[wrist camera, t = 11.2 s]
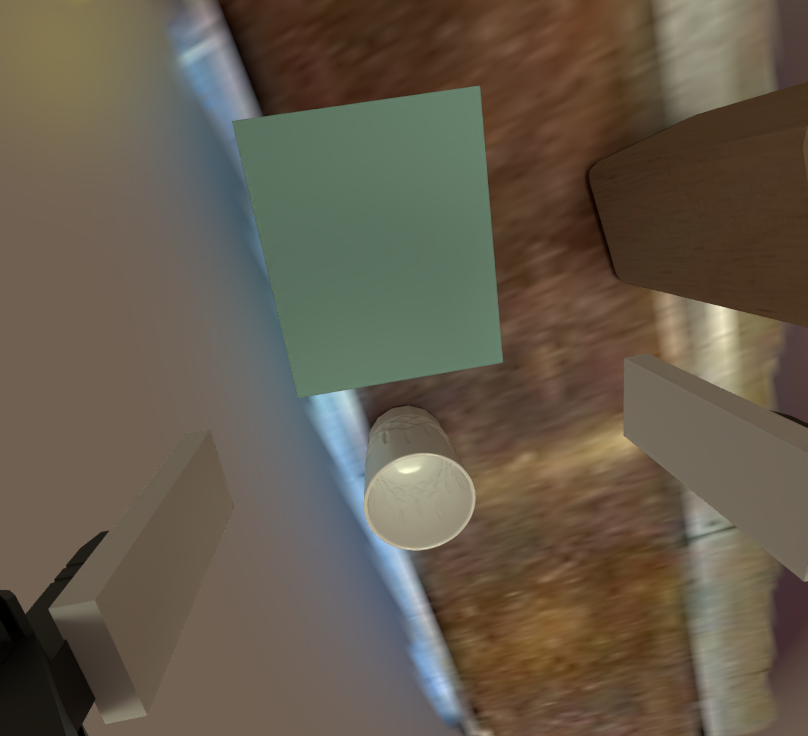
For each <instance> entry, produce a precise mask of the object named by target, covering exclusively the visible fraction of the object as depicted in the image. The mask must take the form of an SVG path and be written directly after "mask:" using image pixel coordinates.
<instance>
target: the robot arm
mask: <svg viewBox="0 0 808 736" xmlns="http://www.w3.org/2000/svg"><path fill="white" fill-rule="evenodd" d="M624 436H625V437H626V438H628V439H629V440H630V441H631V442H632V443H634V444H635V445H636V446H637V447H639V448H640V449H641V450H642V451H644V452H645V453H646V454H647V455H649V456H650V457H651V458H652V459H653V460H655V461H656V462H657V463H658V464H660V465H661V466H662V467H663V468H665V469H666V470H667V471H668V472H670V473H671V474H672V475H673V476H674V477H676V478H677V479H678V480H679V481H681V482H682V483H683V484H684V485H686V486H687V487H688V488H689V489H690V490H692V491H693V492H694V493H695V494H697V495H698V496H699V497H700V498H702V499H703V500H704V501H705V502H707V503H708V504H709V505H710V506H711V507H713V508H714V509H715V510H716V511H718V512H719V513H720V514H721V515H723V516H724V517H725V518H726V519H728V520H729V521H730V522H731V523H732V524H734V525H735V526H736V527H737V528H739V529H740V530H741V531H742V532H744V533H745V534H746V535H747V536H749V537H750V538H751V539H752V540H753V541H755V542H756V543H757V544H758V545H760V546H761V547H762V548H763V549H765V550H766V551H767V552H768V553H770V554H771V555H772V556H773V557H774V558H776V559H777V560H778V561H779V562H781V563H782V564H783V565H784V566H786V567H787V568H788V569H789V570H791V571H792V572H793V573H794V574H796V575H797V576H798V577H799V578H800V579H802V580H803V581H804V582H805V581H808V423H805V422H803V421H801V420H799V419H797V418H794V417H792V416H789V415H786V414H782V413H778V412H775V411H771V410H767V409H765V408H763V407H761V406H759V405H757V404H754V403H752V402H750V401H748V400H746V399H744V398H742V397H739V396H737V395H735V394H733V393H731V392H729V391H727V390H724V389H722V388H720V387H718V386H716V385H714V384H711V383H709V382H707V381H705V380H703V379H701V378H699V377H696V376H694V375H692V374H690V373H688V372H686V371H684V370H681V369H679V368H677V367H675V366H673V365H671V364H669V363H666V362H664V361H662V360H660V359H658V358H656V357H653V356H651V355H649V354H643V355H637V356H631V357H625V358H624ZM233 508H234V505H233V502H232V499H231V495H230V492H229V489H228V485H227V482H226V479H225V476H224V473H223V470H222V466H221V463H220V460H219V456H218V453H217V450H216V447H215V443H214V440H213V437H212V434H211V431H210V430H207V431H202V432H196V433H190V434H185V435H184V436H183V438H182V439H181V440H180V441H179V443H178V444H177V445H176V446H175V448H174V449H173V450H172V452H171V453H170V454H169V455H168V457H167V458H166V459H165V461H164V462H163V463H162V465H161V466H160V467H159V468H158V469H157V471H156V472H155V473H154V475H153V476H152V477H151V478H150V480H149V481H148V482H147V483H146V485H145V486H144V487H143V489H142V490H141V491H140V492H139V494H138V495H137V496H136V498H135V499H134V500H133V501H132V503H131V504H130V505H129V507H128V508H127V509H126V510H125V512H124V513H123V514H122V516H121V517H120V518H119V519H118V521H117V522H116V523H115V524H114V526H113V527H112V528H111V530H110V531H104V532H101V533H99V534H98V535H97V536H95V537H94V538H93V539H92V540H90V541H89V542H88V543H87V544H85V545H84V546H83V547H81V548H80V549H79V550H78V552H77V553H76V554H75V555H74V557H73V558H72V559H71V560H70V561H69V562H68V564H67V565H66V568H64V569H63V570H62V571H61V572H60V573H59V575H58V576H57V577H56V578H55V579H54V580H55V582H54V583H51V584H50V585H49V587H48V588H47V589H46V591H45V592H44V593H43V594H42V595H41V596H40V597H39V599H38V600H37V601H36V602H35V603H34V605H33V606H32V607H31V609H30V610H29V611H28V612H27V613H26V614H25V613H24V611H23V609H22V608H21V606H20V604H19V602H18V600H17V598H16V596H15V595H14V594H13V593H12V592H11V591H10V590H0V736H88V734H87V732H86V730H85V728H84V726H83V724H82V723H83V721H84V720H85V718H86V716H87V714H88V712H89V710H90V708H91V707H92V705H93V703H94V702H95V704H96V705H97V708H98V710H99V712H100V714H101V715H102V718H103V720H104V722H105V724H108V723H113V722H117V721H123V720H127V719H132V718H137V717H142V716H147V715H148V713H149V710H150V708H151V705H152V703H153V701H154V698H155V696H156V693H157V691H158V689H159V686H160V684H161V681H162V679H163V676H164V674H165V672H166V669H167V667H168V664H169V662H170V660H171V657H172V655H173V652H174V650H175V648H176V645H177V643H178V640H179V638H180V636H181V633H182V631H183V628H184V626H185V623H186V621H187V619H188V616H189V614H190V612H191V609H192V607H193V604H194V602H195V599H196V597H197V595H198V592H199V590H200V588H201V585H202V582H203V580H204V578H205V576H206V573H207V571H208V568H209V566H210V563H211V561H212V559H213V556H214V554H215V552H216V549H217V547H218V544H219V542H220V539H221V537H222V535H223V532H224V530H225V528H226V525H227V523H228V520H229V518H230V515H231V513H232V510H233Z"/></svg>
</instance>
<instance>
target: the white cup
mask: <svg viewBox="0 0 808 736" xmlns="http://www.w3.org/2000/svg"><path fill="white" fill-rule="evenodd" d="M474 506H475V489H474V485H473V483H472V480H471V478H470V476H469V475H468V473H467V471H466V469H465V467H464V465H463V464H462V462H461V460H460V458H459V456H458V454H457V452H456V450H455V448H454V447H453V445H452V443H451V442H450V440H449V438H448V437H447V435H446V434H445V432H444V431H443V430H442V428H441V426H440V424H439V422H438V420H437V419H436V418H435V417H433V416H432V415H431V414H430V413H429V412H427V411H426V410H425V409H421V408H417V407H413V406H409V405H408V406H402V407H397V408H392V409H390V410H389V411H387V412H386V413H384V414H383V415H381V416H380V417H378V418H377V420H376V421H375V423H374V425H373V427H372V428H371V430H370V432H369V445H368V450H367V454H366V467H365V489H364V513H365V517H366V520H367V522H368V524H369V526H370V528H371V529H372V531H373V532H374V533H375V534H376V535H377V536H378V537H379V538H380V539H381V540H383V541H384V542H386V543H388V544H390V545H392V546H394V547H397V548H401V549H405V550H425V549H430V548H434V547H437V546H440V545H442V544H444V543H446V542H448V541H450V540H451V539H453V538H454V537H455V536H457V535H458V534H459V533H460V532H461V531H462V530H463V529H464V527H465V526H466V525H467V523H468V522H469V520H470V518H471V516H472V513H473V510H474Z"/></svg>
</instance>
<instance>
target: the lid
mask: <svg viewBox="0 0 808 736" xmlns="http://www.w3.org/2000/svg"><path fill="white" fill-rule="evenodd" d="M232 123H233V128H234V132H235V136H236V140H237V144H238V149H239V153H240V157H241V161H242V165H243V170H244V174H245V178H246V182H247V187H248V191H249V195H250V199H251V203H252V208H253V212H254V216H255V220H256V224H257V229H258V233H259V237H260V241H261V245H262V250H263V254H264V258H265V262H266V266H267V271H268V275H269V279H270V283H271V287H272V292H273V296H274V300H275V304H276V308H277V313H278V317H279V321H280V325H281V329H282V333H283V338H284V341H285V346H286V350H287V354H288V359H289V363H290V367H291V372H292V376H293V380H294V384H295V388H296V392H297V397H298V398H302V397H307V396H313V395H319V394H325V393H331V392H336V391H342V390H348V389H354V388H359V387H365V386H371V385H377V384H382V383H388V382H394V381H400V380H405V379H411V378H417V377H423V376H428V375H434V374H440V373H446V372H451V371H457V370H463V369H469V368H474V367H480V366H486V365H492V364H498V363H503V358H502V346H501V334H500V322H499V310H498V298H497V286H496V274H495V262H494V250H493V238H492V226H491V214H490V202H489V190H488V178H487V166H486V154H485V142H484V130H483V118H482V106H481V94H480V86H474V87H467V88H460V89H453V90H446V91H439V92H432V93H425V94H418V95H411V96H404V97H398V98H391V99H384V100H377V101H370V102H363V103H356V104H349V105H342V106H335V107H328V108H321V109H314V110H307V111H300V112H293V113H286V114H279V115H272V116H265V117H258V118H251V119H244V120H237V121H232Z"/></svg>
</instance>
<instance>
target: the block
mask: <svg viewBox="0 0 808 736" xmlns="http://www.w3.org/2000/svg"><path fill="white" fill-rule="evenodd" d="M589 182H590V185H591V189H592V192H593V196H594V199H595V202H596V206H597V209H598V213H599V216H600V220H601V223H602V227H603V230H604V233H605V237H606V240H607V244H608V247H609V251H610V254H611V258H612V261H613V265H614V268H615V271H616V274H617V276H618V277H619V278H620V280H621V281H622V282H624V283H628V284H632V285H636V286H640V287H644V288H649V289H653V290H657V291H661V292H665V293H669V294H673V295H677V296H681V297H685V298H689V299H693V300H698V301H702V302H706V303H710V304H714V305H718V306H722V307H726V308H730V309H734V310H738V311H743V312H747V313H751V314H755V315H759V316H763V317H767V318H771V319H775V320H779V321H783V322H788V323H792V324H796V325H800V326H804V327H808V82H805V83H802V84H798V85H795V86H791V87H788V88H785V89H781V90H778V91H774V92H771V93H768V94H764V95H761V96H758V97H754V98H751V99H748V100H744V101H741V102H738V103H734V104H731V105H727V106H724V107H721V108H717V109H714V110H711V111H707V112H704V113H701V114H697V115H695V116H693V117H691V118H689V119H686V120H684V121H682V122H680V123H678V124H676V125H674V126H672V127H670V128H667V129H665V130H663V131H661V132H659V133H657V134H655V135H653V136H651V137H649V138H646V139H644V140H642V141H640V142H638V143H636V144H634V145H632V146H630V147H628V148H625V149H623V150H621V151H619V152H617V153H615V154H613V155H611V156H609V157H607V158H604V159H602V160H600V161H598V162H597V163H596V164H595V165H594V166H593V167H592V168H591V169H590V171H589Z"/></svg>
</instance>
